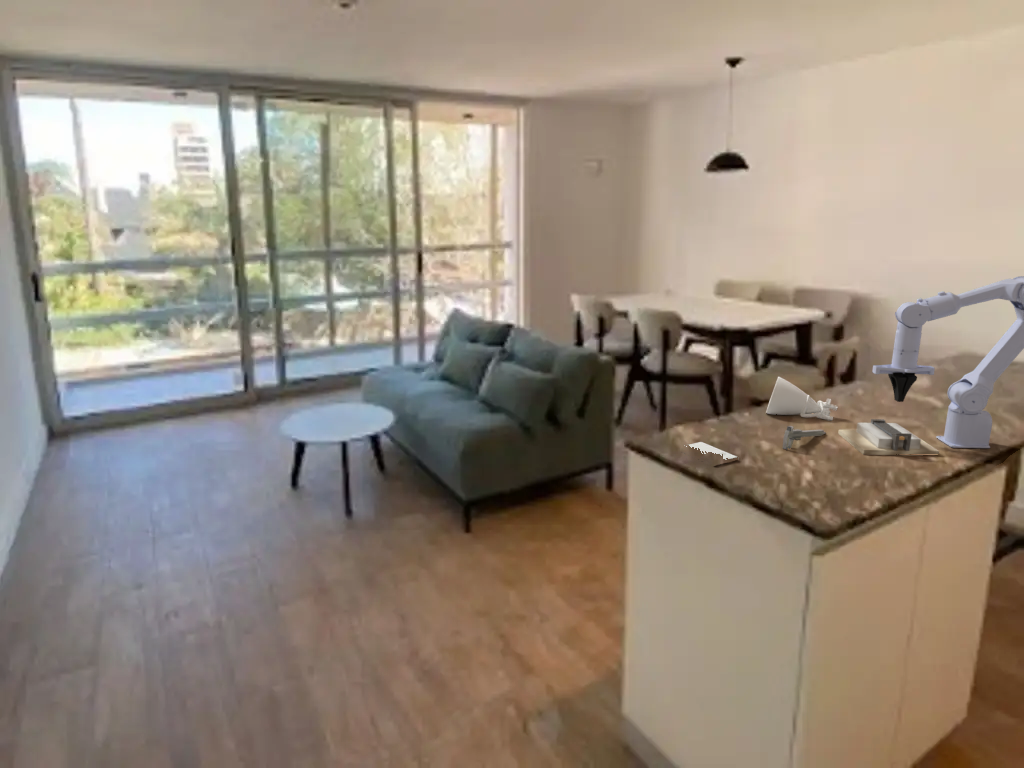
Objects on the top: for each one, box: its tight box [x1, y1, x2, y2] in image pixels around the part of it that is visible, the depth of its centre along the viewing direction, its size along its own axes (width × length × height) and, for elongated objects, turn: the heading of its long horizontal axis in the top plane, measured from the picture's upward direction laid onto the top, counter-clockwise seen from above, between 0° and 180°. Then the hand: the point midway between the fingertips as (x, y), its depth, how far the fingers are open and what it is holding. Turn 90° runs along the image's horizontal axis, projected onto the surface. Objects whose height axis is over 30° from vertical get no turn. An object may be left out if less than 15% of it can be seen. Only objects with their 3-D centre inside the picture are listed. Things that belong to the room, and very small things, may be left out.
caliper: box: [782, 425, 826, 451], centre depth 181 cm, size 20×1×6 cm, turn 130°
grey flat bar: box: [873, 421, 905, 440], centre depth 177 cm, size 3×13×1 cm, turn 176°
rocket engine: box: [765, 376, 839, 422], centre depth 202 cm, size 12×12×18 cm
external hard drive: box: [686, 441, 738, 460], centre depth 172 cm, size 2×8×12 cm
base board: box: [837, 418, 940, 456], centre depth 178 cm, size 18×16×6 cm
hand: (898, 400), depth 181 cm, fingers closed
